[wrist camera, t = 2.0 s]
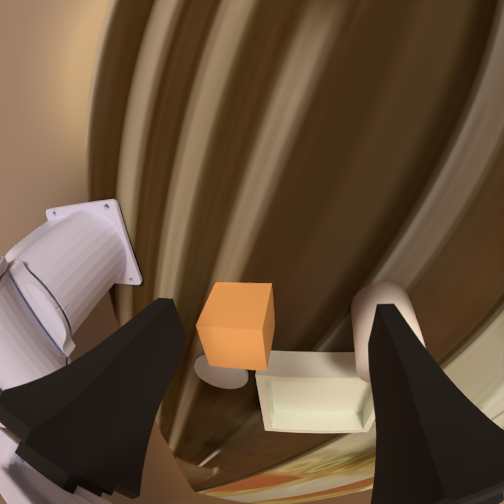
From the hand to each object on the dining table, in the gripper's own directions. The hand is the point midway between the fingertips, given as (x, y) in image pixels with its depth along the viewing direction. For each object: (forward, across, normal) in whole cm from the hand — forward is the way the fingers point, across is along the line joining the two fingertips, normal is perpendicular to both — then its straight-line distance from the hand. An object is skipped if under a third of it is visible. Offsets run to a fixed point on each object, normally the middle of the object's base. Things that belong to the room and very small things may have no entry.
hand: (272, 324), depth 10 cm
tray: (+10, -3, +20) cm, 23 cm away
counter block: (+10, +4, +8) cm, 14 cm away
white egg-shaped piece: (+10, -7, +8) cm, 15 cm away
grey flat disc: (+11, +8, +18) cm, 23 cm away
